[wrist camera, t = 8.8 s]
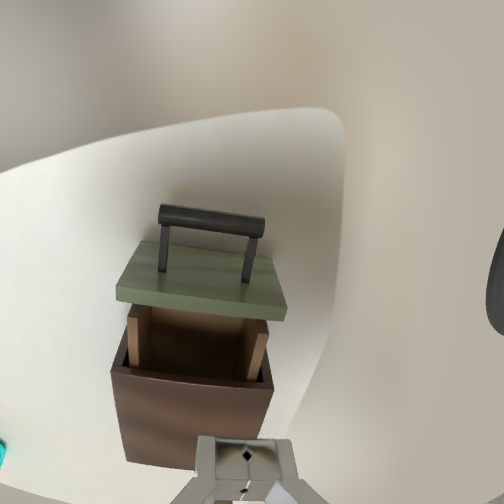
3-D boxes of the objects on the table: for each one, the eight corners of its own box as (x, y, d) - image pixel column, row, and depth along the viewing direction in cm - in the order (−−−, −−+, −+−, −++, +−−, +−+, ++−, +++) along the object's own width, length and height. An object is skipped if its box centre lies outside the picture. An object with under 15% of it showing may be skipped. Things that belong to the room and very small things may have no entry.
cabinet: (134, 303, 30) (110, 371, 22) (261, 319, 32) (274, 390, 23) (138, 398, 36) (126, 461, 27) (238, 410, 38) (243, 473, 29)
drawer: (145, 184, 25) (116, 212, 18) (283, 204, 27) (306, 239, 20) (139, 357, 32) (125, 413, 25) (244, 370, 34) (251, 426, 27)
